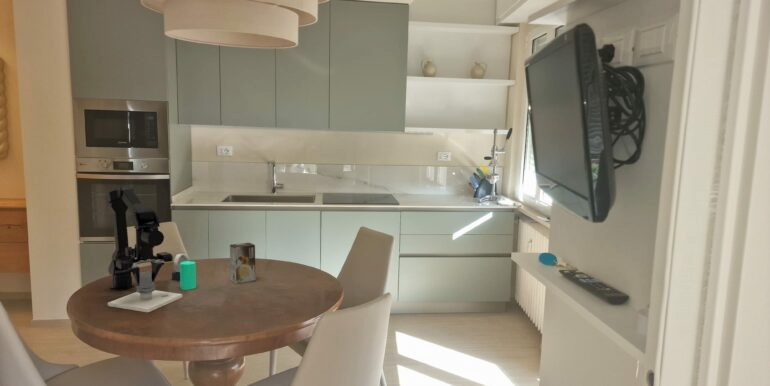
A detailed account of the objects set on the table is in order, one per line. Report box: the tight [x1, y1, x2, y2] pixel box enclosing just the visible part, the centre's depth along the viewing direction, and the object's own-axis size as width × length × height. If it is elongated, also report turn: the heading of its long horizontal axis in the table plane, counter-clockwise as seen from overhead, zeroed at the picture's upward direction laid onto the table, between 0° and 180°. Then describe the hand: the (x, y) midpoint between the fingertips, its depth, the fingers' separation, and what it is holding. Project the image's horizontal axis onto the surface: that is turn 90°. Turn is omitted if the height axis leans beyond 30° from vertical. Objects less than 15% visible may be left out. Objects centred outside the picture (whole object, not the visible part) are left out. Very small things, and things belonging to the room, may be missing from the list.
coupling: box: [135, 270, 156, 293], centre depth 189 cm, size 8×6×6 cm
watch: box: [171, 253, 190, 281], centre depth 219 cm, size 6×8×11 cm
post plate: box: [107, 289, 183, 313], centre depth 190 cm, size 18×18×4 cm
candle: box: [179, 259, 197, 290], centre depth 207 cm, size 6×6×12 cm
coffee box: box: [229, 242, 257, 285], centre depth 219 cm, size 9×6×16 cm
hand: (145, 282), depth 189 cm, fingers closed on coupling, 5 cm apart
